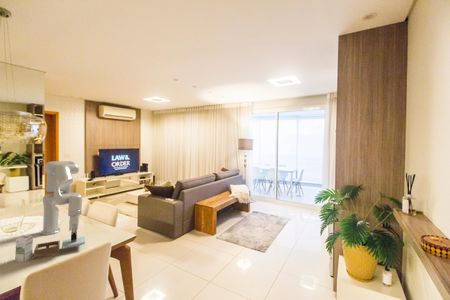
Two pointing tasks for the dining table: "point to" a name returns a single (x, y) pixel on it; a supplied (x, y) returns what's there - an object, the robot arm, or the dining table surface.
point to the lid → (73, 242)
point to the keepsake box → (46, 249)
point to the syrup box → (24, 248)
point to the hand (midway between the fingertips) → (73, 238)
